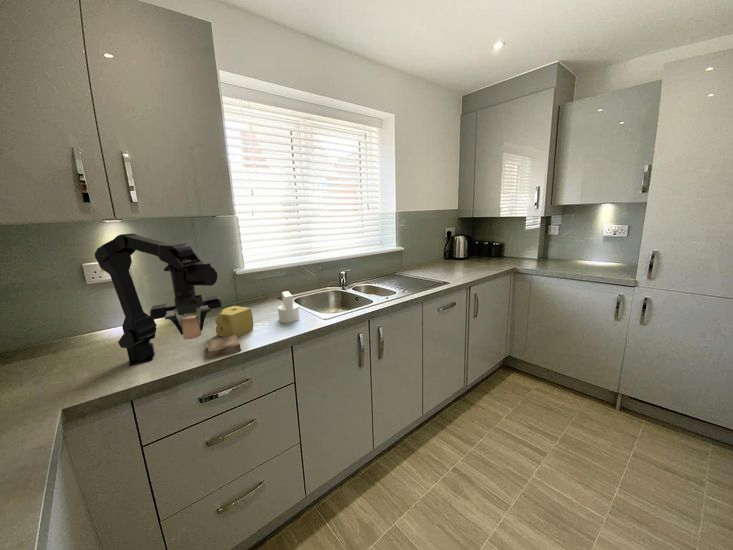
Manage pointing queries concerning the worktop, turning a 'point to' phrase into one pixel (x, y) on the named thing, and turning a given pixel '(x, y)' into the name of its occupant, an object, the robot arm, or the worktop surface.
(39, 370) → the worktop surface
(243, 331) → the cheese
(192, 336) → the terracotta cylinder
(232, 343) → the walnut base
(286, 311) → the base with upright slab
